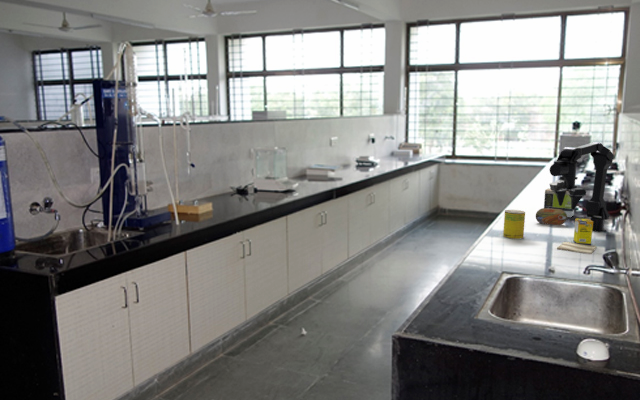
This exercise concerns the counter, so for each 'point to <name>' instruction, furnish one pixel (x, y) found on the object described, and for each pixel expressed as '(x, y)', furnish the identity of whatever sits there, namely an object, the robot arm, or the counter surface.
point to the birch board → (577, 247)
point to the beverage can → (514, 224)
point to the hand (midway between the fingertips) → (566, 207)
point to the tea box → (552, 202)
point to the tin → (551, 216)
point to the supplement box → (583, 231)
